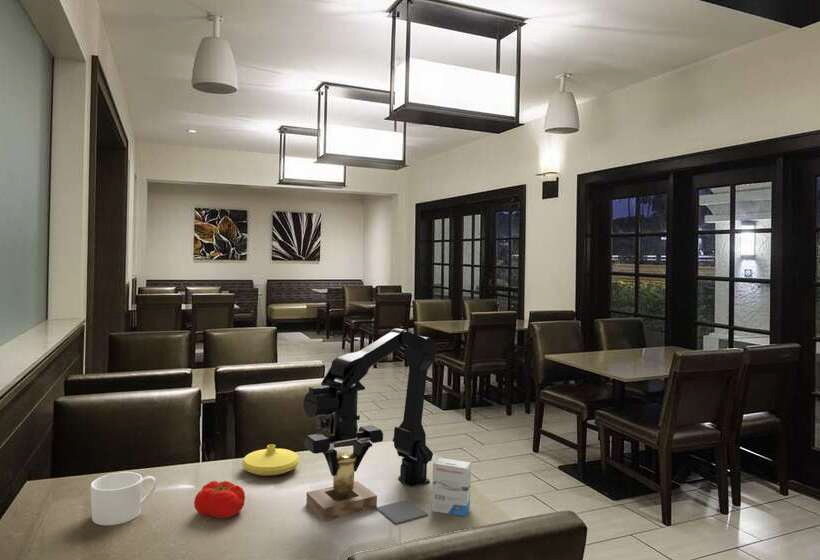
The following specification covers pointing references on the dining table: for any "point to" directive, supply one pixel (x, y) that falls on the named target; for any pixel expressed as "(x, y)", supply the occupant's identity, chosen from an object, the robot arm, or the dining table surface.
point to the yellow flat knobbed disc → (270, 461)
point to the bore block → (355, 502)
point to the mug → (118, 497)
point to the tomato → (220, 499)
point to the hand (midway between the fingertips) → (343, 473)
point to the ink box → (451, 486)
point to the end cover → (344, 472)
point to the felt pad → (401, 511)
